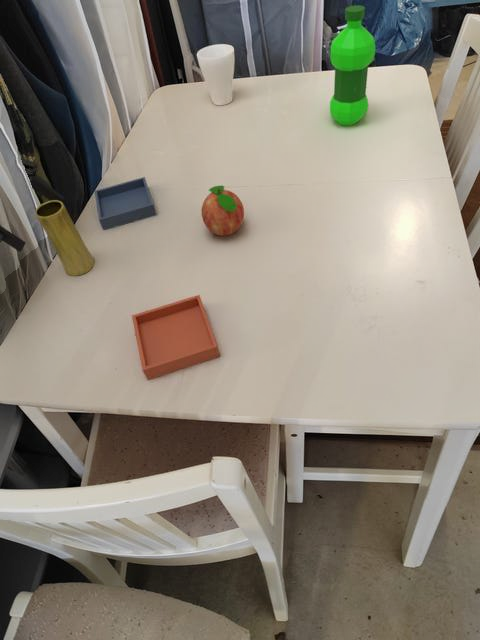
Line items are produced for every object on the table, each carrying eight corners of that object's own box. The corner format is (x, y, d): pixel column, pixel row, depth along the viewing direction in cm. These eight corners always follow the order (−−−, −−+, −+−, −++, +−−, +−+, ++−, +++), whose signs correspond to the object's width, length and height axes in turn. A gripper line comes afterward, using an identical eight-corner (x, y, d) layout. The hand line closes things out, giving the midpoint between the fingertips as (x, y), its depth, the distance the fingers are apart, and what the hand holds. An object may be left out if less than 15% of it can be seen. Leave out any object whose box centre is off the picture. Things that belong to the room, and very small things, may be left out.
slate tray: (103, 230, 98) (98, 220, 96) (98, 200, 106) (94, 190, 104) (156, 214, 99) (153, 204, 97) (147, 187, 107) (144, 176, 105)
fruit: (211, 248, 89) (201, 207, 82) (201, 221, 96) (191, 181, 88) (251, 237, 90) (246, 195, 83) (239, 211, 96) (233, 170, 89)
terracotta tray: (147, 380, 71) (142, 370, 69) (136, 325, 79) (131, 315, 76) (220, 356, 72) (217, 346, 70) (202, 305, 80) (199, 294, 78)
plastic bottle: (328, 131, 113) (331, 19, 94) (328, 112, 120) (331, 3, 101) (368, 129, 112) (380, 14, 93) (366, 110, 118) (377, -2, 99)
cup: (219, 112, 128) (211, 62, 117) (198, 103, 134) (189, 54, 123) (247, 98, 131) (241, 48, 121) (225, 90, 137) (218, 41, 127)
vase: (86, 277, 88) (55, 219, 78) (60, 275, 90) (25, 218, 79) (99, 256, 92) (71, 199, 81) (73, 254, 94) (42, 197, 83)
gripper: (-26, 125, 87) (70, 195, 94) (-123, 201, 72) (0, 277, 80) (-20, 98, 81) (82, 175, 89) (-124, 174, 67) (8, 259, 74)
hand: (43, 223), depth 84 cm, fingers open, 13 cm apart
